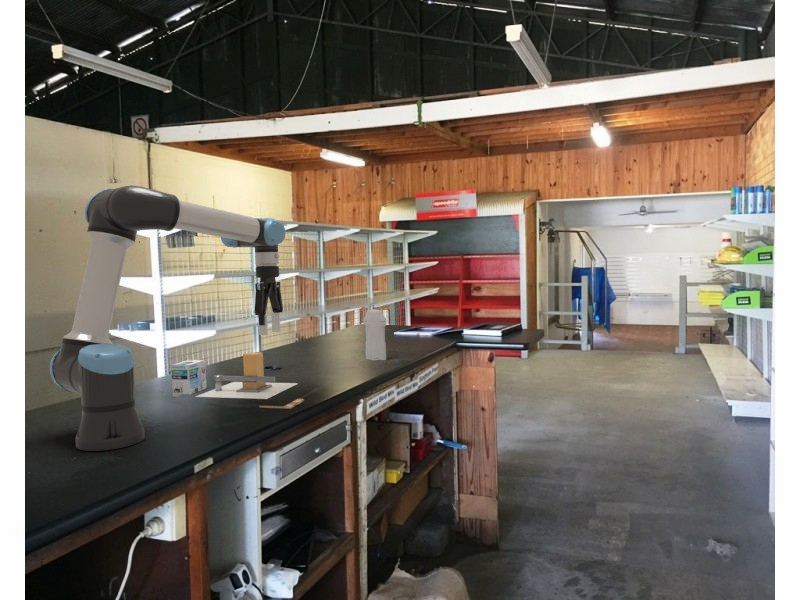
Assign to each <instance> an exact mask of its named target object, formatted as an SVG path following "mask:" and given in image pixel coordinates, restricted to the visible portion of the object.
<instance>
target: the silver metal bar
mask: <svg viewBox="0 0 800 600" xmlns="http://www.w3.org/2000/svg"><path fill="white" fill-rule="evenodd" d="M212 380H213V382H215V381H221V382H222V381H223V382H224V381H226V382H227V381H228V382H244V381H263V382H266V383H276V381H277V380H276V376H264V377H257V376H244V375H241V376H240V375H223V374H216V375H213V379H212Z"/></svg>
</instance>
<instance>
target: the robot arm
mask: <svg viewBox="0 0 800 600" xmlns="http://www.w3.org/2000/svg"><path fill="white" fill-rule="evenodd" d="M84 216H85V217H84V218H85V220H86V222H87V223H88V226H87V231H86V235H87V236H88V238H89V239H90V241H91V244H90V247H89V252H88V256H87V257H88V258H87V261H86V266H85V269H84V270H85V271H84V275H83V277H82V278H83V279H82V284H81V288H80V291H79V297H78V301H77V305H76V310H75V314H74V317H73V318H74V319H73V323H72V328H71V331H70V332H69V333H67V334H65V335H64V336H63V337H62V342H61V346H60V349H58V350H57V351H56V352H55V353H54V355H53V356H52V357H51V359H50V362H49V374H50V377H51V379H52V381H53V382H54V384H56V385H57V387H59V388H60V389H63V390H64V391H66V392H68V393H72V394H79V395H80V397H81V398H80V399H81V417H80V421H79V423H78V424H79V425H78V429H77V434H76V435H75V448H76V449H77V450H81V451H86V452H101V451H110V450H111V451H112V450H117V449H122V448H125V447H129V446H133V445H136V444H138V443H141V442H142V441H143V440H144V439H145V438H146V436H145V433H146V431H145V427H144V425H143V424H142V421H141V417H140V416H139V414H138V411H137V409H136V391H135V372H134V366H135V360H134V355H133V351H132V349H130V347H129V346H126V345H124V344H118V343H116V344H115V343H113V342H112V340H111V339H110V338H109V334H110V329H111V325H112V320H113V316H114V311H115V306H116V301H117V298H118V293H119V292H118V291H119V286H120V284H121V278H122V273H123V271H124V270H123V269H124V264H125V260H126V256H127V255H126V254H127V250H128V249H129V248H130V247H132V246H133V245H135V243H136V238H137V234H138V231H149V230H150V231H151V230H156V231H157V230H160V231H167V232H171V231H173V230H174V229H175V230H181V231H186V232H187V231H188V232H192V233H197V234H202V235H207V236H213V237H219V238H220V240H221V242H222V244H223V245H224V246H225V247H228V248H234V249H235V248H254V254H255V256H254V260H255V262H254V263H255V265H257V266H256V267H255V276H256V278H258V279H260V280H259V283H255V284H254V287H255V293H254V296H255V297H254V298H255V299H254V311H253V312H254V315H255V316H258V334H259V335H258V336H269V332H268V331H269V328H268V326H269V325H268V315H267V309H268V308H267V307H268V303H270V306H271V310H272V312H271V332H272V333H280V332H281V317H280V316H281V315H280V314H281V313H283V310H284V308H283V301H282V300H283V299H282V290H281V282H280V281H276V278H278V277H280V267H279V266H278V265H279V263H280V262H279V258H280V254H279V245H280V244H282V243H283V242H284V240H285V238H286V228H285V226H284V224H283V223H282V222H281V221H279V220H277V219H275V218H271V217H260V218H259V217H258V218H257V217H252V216H248V215H243V214H240V213H236V212H231V211H227V210H223V209H218V208H215V207H209V206H207V205H206V206H205V205H200V204H197V203H193V202H188V201H185V200H184V201H183V200H180V198H179V197H178V196H177V195H175V194H171V193H168V192H165V191H164V192H163V191H159V190H156V189H153V188H148V187H144V186H139V185H132V184H131V185H124V186H119V187H116V188H107V189H102V190H101V191H99V192H96V193H95V194H94V195H92V196H91V197H90V199H88V201H87V203H86V205H85V209H84ZM268 301H269V302H268Z"/></svg>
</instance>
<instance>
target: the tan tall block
mask: <svg viewBox="0 0 800 600" xmlns="http://www.w3.org/2000/svg"><path fill="white" fill-rule="evenodd" d="M242 364H243V376H257V377H265V373H264V371H265V370H264V352H261V351H259V352H258V351H256V352H253V351H252V352H250V351H249V352H247V353H243V354H242ZM241 382H242V384H243V390H259V389H261V388H263V387H265V386H266V383H267V382H263V381H241Z"/></svg>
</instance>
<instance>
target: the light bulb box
mask: <svg viewBox="0 0 800 600" xmlns="http://www.w3.org/2000/svg"><path fill="white" fill-rule="evenodd" d="M170 366H171V382H172V385H171V386H172V397H173V398H178V397H180V396H184V395H186V396H187V395H193V394H195V393H198V392H200V391H203V390H205V389H207V371H206V369H207V366H206V360H205V359H187V360H184V361H180V362H177V363H173V364H171V365H170Z"/></svg>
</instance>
